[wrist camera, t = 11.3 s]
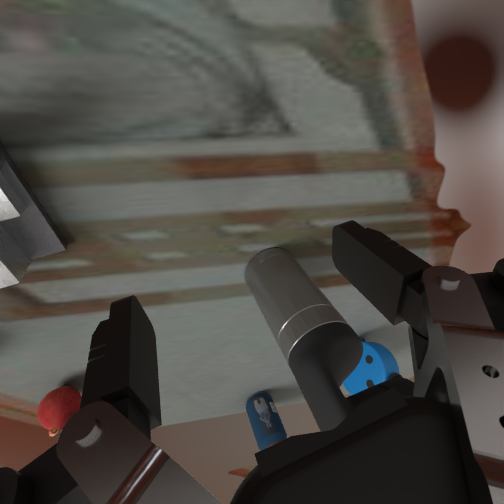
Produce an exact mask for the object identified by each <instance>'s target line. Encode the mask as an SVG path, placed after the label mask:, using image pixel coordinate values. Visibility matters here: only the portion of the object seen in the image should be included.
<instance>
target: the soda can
mask: <svg viewBox="0 0 504 504" xmlns="http://www.w3.org/2000/svg"><path fill="white" fill-rule="evenodd" d="M246 410H247V413H248V417H249V420H250V423H251V426H252V429H253V432H254V435H255V438H256V441H257V444H258V447H259V449H260V450H261V451H262V450H264V449H266V448H268V447H270V446H272V445H274V444H276V443H278V442H280V441H282V440H285V439H287V434H286V432H285V429H284V427H283V424H282V422H281V419H280V417H279V415H278V412H277V410H276V407H275V405H274V402H273V400H272V397H271V396H270V395H269V394H267V393H266V392H258V393H255V394H253V395H252V396H250V397H249V399H248V400H247V404H246Z"/></svg>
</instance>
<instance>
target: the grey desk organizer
mask: <svg viewBox="0 0 504 504" xmlns="http://www.w3.org/2000/svg"><path fill="white" fill-rule="evenodd" d="M67 246H68V245H67V243H66V242H65V240H64V239H63V237H62V236H61V234H60V233H59V231H58V230H57V228H56V226H55V225H54V223H53V222H52V220H51V219H50V217H49V216H48V214H47V213H46V211H45V210H44V208H43V207H42V205H41V204H40V202H39V201H38V199H37V198H36V196H35V195H34V193H33V192H32V190H31V188H30V187H29V185H28V184H27V182H26V181H25V179H24V178H23V176H22V175H21V173H20V172H19V170H18V169H17V167H16V166H15V164H14V163H13V161H12V160H11V158H10V157H9V155H8V153H7V152H6V150H5V149H4V147H3V146H2V144H1V143H0V288H3V287H7V286H10V285H13V284H17V283H20V281H21V279H22V277H23V275H24V274H25V272H26V270H27V268H28V266H29V264H30V261H29V260H33V259H36V258H40V257H43V256H47V255H50V254H54V253H57V252H61V251H64V250H66V248H67Z"/></svg>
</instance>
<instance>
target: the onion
mask: <svg viewBox="0 0 504 504" xmlns="http://www.w3.org/2000/svg"><path fill="white" fill-rule="evenodd" d="M81 398H82V397H81V395H80V393H79V391H78V390H76V389H74V388H73V387H69V386H66V385H64V386H61V387H60V388H57V389H55V390H53V391H51V392H50V393H48V394H47V395H46V396H45V397H44V398H43V400H42V401H41V402H40V405H39V407H38V420H39V422H40V423H41V425H42V426H43V427H44V428H46V429H48V430H50V431H49V435H50V436H55V435H56V434H57V433H58V432H59V431H60V430H62V429H63V427H64V426H65V424H66V423H67V422H68V420H69V419H70V418H71V417H72V416H73V415H74V414H75V413H76V412H77V411H79V408H80V404H81Z"/></svg>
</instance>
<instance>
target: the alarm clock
mask: <svg viewBox="0 0 504 504" xmlns="http://www.w3.org/2000/svg"><path fill="white" fill-rule="evenodd" d="M362 344H363V355H362V358H361V360H360V362H359V364H358V365H357V367H356V368H355V370H354V371H353V372H352V373H351V374H350V375H349V376H348V377H347V378H346V379H345V380H344V382H343V385H344V386H345V388H346V389H347V390H348V392H349V393H350V394H352V395H354V394H356V393H358V392H360V391H363V390H365V389H367V388H370V387H372V386H374V385H377V384H379V383H381V382H384V381H386V380H389V379H392V378H396V377H401V378H403V377H402V376H401V375H400V374H399V368H398V364H397V362H396V360H395V358H394V356H393V355H392V353H391V352H390V351H389V350H388V349H387V348H385V347H384V346H382V345H380V344H378V343H374V342H365V340H364V339H363V341H362Z"/></svg>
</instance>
